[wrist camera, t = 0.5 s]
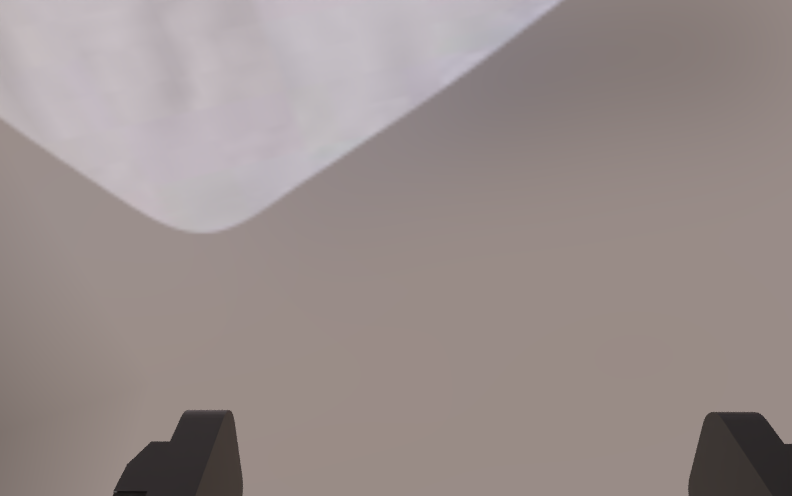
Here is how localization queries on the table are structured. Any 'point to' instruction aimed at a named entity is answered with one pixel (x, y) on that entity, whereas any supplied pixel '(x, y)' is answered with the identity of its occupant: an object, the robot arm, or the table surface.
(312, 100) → the table surface
